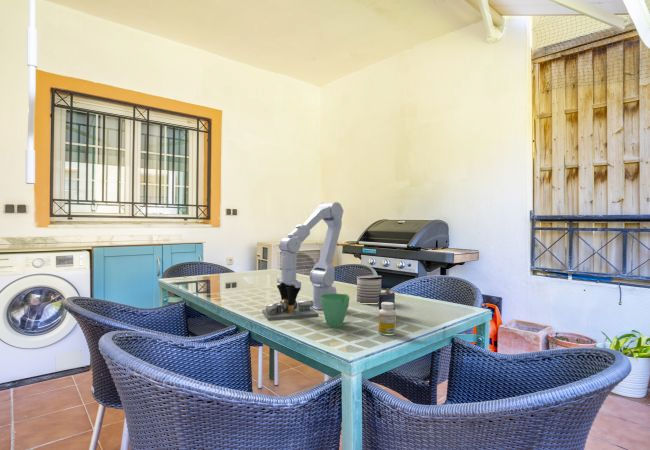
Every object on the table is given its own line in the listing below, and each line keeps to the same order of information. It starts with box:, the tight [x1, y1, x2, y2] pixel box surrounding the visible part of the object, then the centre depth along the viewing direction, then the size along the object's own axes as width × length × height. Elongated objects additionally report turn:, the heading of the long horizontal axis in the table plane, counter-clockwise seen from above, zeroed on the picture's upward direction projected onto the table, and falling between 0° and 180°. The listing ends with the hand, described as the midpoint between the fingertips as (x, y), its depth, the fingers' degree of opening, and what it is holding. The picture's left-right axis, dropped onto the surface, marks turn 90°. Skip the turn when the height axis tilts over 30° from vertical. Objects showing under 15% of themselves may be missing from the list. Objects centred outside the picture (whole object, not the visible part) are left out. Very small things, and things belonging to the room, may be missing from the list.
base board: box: [261, 307, 320, 321], centre depth 137 cm, size 19×12×1 cm, turn 110°
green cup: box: [321, 293, 350, 328], centre depth 125 cm, size 15×10×10 cm
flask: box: [378, 288, 396, 311], centre depth 136 cm, size 9×3×11 cm, turn 138°
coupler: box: [279, 298, 298, 312], centre depth 138 cm, size 6×4×4 cm
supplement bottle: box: [378, 302, 397, 335], centre depth 115 cm, size 5×5×10 cm
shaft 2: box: [296, 300, 313, 311], centre depth 141 cm, size 6×4×3 cm, turn 110°
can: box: [356, 275, 382, 304], centre depth 161 cm, size 11×11×12 cm
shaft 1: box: [265, 302, 281, 315], centre depth 134 cm, size 6×4×3 cm, turn 145°
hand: (288, 303), depth 138 cm, fingers closed on coupler, 4 cm apart
